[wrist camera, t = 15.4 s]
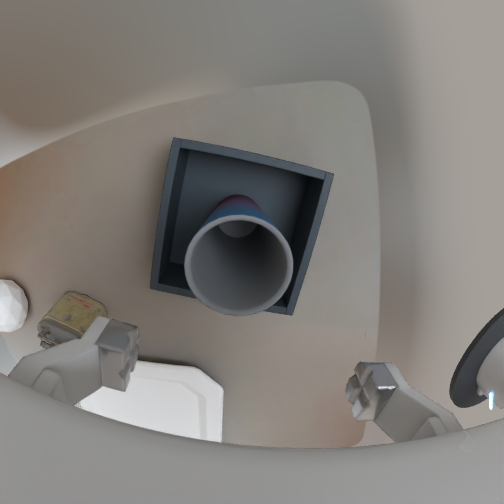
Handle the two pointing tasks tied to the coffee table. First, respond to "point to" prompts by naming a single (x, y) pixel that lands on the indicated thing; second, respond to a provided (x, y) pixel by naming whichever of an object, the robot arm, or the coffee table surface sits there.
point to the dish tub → (232, 183)
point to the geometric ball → (12, 306)
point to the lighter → (69, 319)
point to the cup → (238, 259)
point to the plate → (164, 401)
